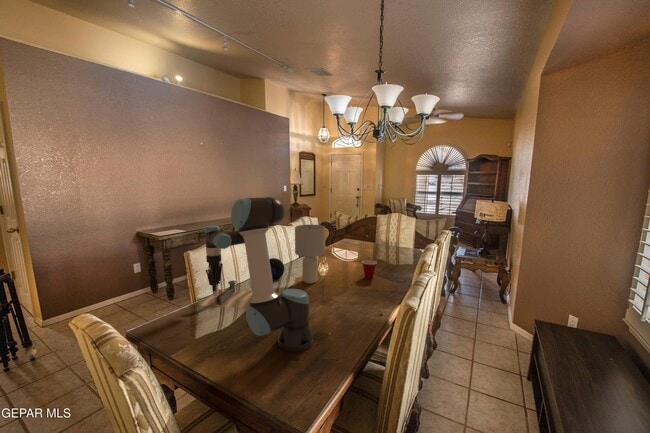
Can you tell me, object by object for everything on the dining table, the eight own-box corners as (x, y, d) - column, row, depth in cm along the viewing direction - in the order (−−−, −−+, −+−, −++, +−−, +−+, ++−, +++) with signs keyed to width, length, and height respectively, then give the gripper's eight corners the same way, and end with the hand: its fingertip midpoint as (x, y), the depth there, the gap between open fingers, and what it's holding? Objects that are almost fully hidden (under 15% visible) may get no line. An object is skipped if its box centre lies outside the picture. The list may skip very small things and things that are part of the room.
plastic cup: (376, 275, 206) (377, 260, 205) (376, 281, 196) (376, 264, 194) (362, 274, 209) (362, 258, 207) (360, 279, 199) (360, 263, 197)
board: (258, 293, 174) (258, 291, 174) (245, 309, 153) (245, 307, 153) (218, 291, 177) (217, 289, 177) (199, 307, 155) (199, 305, 155)
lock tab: (219, 293, 161) (219, 289, 160) (222, 293, 160) (222, 289, 160) (216, 295, 158) (216, 291, 157) (219, 295, 157) (219, 291, 157)
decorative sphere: (269, 285, 187) (269, 263, 185) (258, 278, 198) (258, 258, 196) (288, 279, 197) (288, 259, 195) (277, 274, 208) (276, 254, 206)
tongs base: (231, 291, 174) (231, 282, 173) (235, 291, 174) (235, 283, 173) (214, 304, 156) (214, 295, 155) (219, 305, 155) (218, 295, 155)
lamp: (330, 283, 192) (331, 226, 186) (304, 289, 180) (304, 230, 175) (314, 274, 208) (314, 222, 203) (290, 279, 197) (289, 225, 191)
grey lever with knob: (230, 290, 175) (230, 280, 174) (238, 290, 175) (237, 280, 174) (214, 304, 156) (214, 293, 155) (222, 304, 155) (222, 293, 154)
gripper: (214, 250, 159) (216, 290, 162) (200, 257, 146) (202, 300, 150) (226, 251, 158) (228, 291, 161) (213, 258, 145) (215, 301, 148)
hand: (215, 295), depth 155 cm, fingers closed
